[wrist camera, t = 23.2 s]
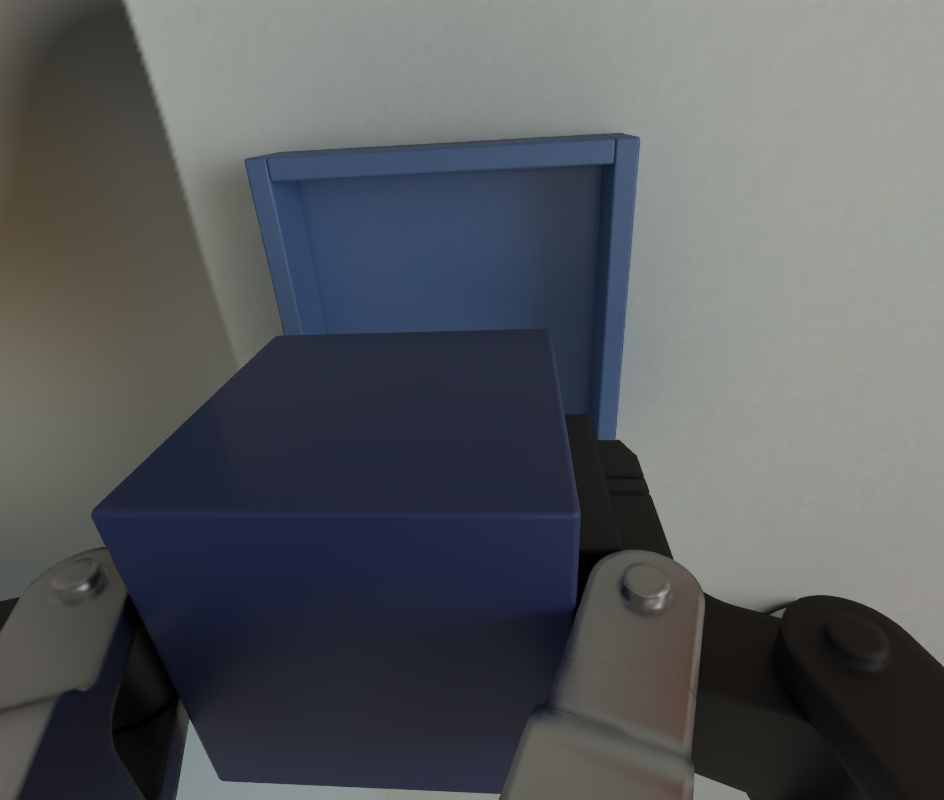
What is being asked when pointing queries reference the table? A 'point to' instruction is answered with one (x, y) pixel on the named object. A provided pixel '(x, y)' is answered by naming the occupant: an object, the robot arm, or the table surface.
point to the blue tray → (461, 245)
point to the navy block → (361, 557)
